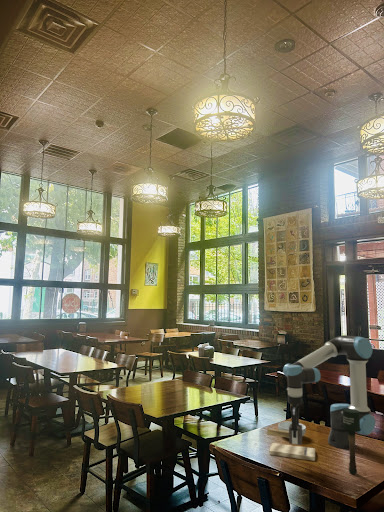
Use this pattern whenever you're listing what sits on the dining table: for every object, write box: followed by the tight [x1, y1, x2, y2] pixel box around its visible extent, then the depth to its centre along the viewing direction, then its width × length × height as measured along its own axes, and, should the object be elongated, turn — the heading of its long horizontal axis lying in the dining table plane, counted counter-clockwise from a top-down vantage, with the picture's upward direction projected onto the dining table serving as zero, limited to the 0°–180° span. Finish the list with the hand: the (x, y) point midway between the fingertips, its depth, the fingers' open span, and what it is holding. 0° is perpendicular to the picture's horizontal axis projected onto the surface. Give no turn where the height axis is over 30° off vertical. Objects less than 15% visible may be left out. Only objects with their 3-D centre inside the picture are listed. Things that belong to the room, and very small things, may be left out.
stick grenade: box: [342, 409, 361, 475], centre depth 190 cm, size 8×9×30 cm
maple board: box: [269, 442, 316, 462], centre depth 212 cm, size 24×13×2 cm, turn 72°
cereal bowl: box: [277, 420, 307, 439], centre depth 239 cm, size 17×17×7 cm
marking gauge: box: [266, 424, 303, 446], centre depth 200 cm, size 6×18×8 cm, turn 69°
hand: (295, 441), depth 198 cm, fingers closed on marking gauge, 6 cm apart
